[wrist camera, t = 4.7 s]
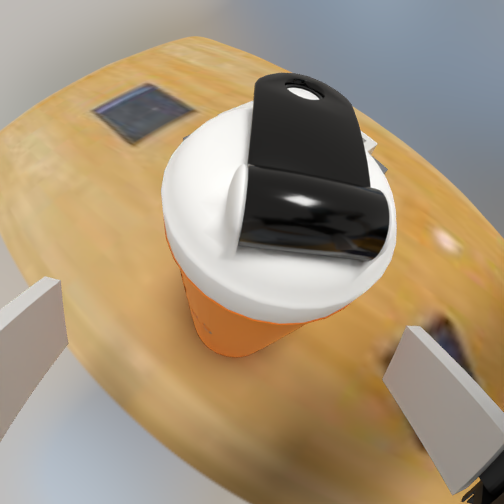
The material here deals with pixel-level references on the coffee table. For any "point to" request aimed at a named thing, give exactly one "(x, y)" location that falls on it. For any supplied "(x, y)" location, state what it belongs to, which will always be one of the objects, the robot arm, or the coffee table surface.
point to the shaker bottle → (276, 215)
